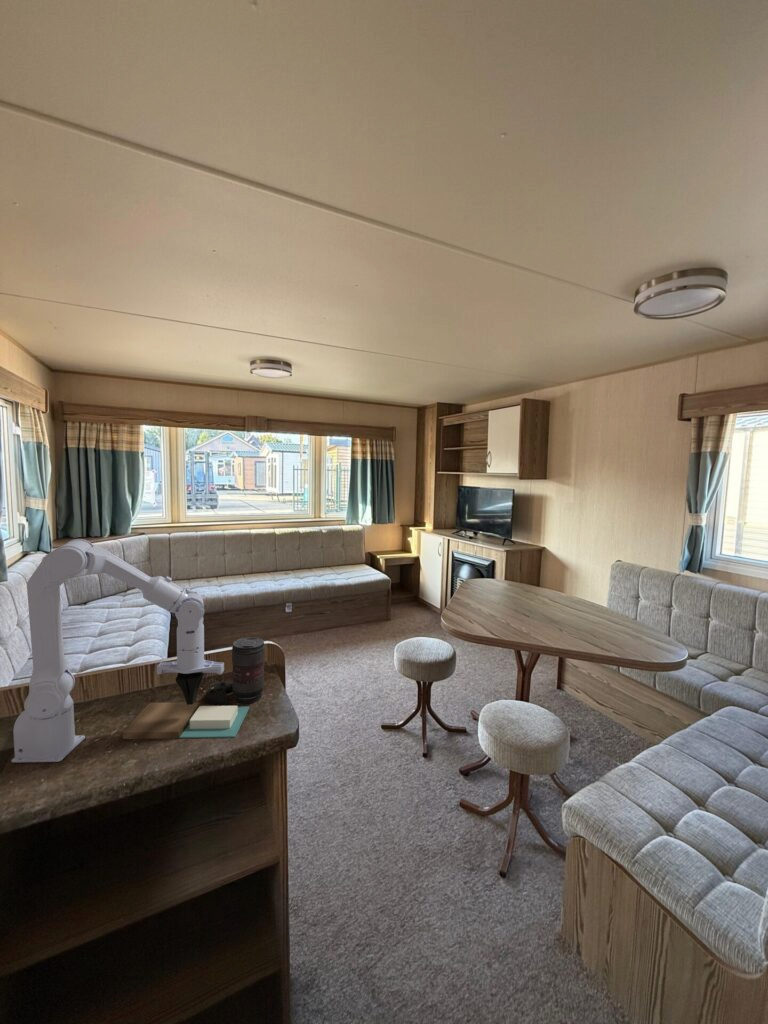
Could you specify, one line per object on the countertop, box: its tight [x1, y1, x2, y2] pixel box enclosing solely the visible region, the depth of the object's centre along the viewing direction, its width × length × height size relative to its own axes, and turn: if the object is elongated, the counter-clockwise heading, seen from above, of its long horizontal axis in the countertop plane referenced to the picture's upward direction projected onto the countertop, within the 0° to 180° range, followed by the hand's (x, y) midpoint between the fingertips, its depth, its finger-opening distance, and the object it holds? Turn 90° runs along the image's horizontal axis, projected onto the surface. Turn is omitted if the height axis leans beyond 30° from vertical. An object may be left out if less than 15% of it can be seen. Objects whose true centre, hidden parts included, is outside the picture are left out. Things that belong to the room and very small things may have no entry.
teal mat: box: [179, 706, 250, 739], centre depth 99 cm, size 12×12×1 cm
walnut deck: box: [121, 701, 201, 740], centre depth 98 cm, size 12×12×2 cm
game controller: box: [204, 681, 233, 706], centre depth 110 cm, size 10×5×6 cm
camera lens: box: [231, 636, 266, 705], centre depth 109 cm, size 8×8×15 cm
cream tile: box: [190, 705, 239, 729], centre depth 99 cm, size 9×6×2 cm, turn 93°
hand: (191, 702), depth 98 cm, fingers closed
